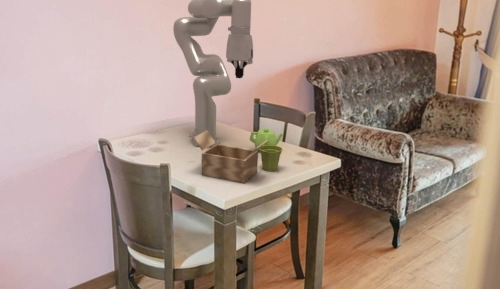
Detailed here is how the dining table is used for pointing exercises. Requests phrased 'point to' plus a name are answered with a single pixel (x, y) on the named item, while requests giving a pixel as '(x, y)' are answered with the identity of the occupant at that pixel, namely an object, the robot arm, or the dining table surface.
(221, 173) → the carton
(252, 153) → the flap
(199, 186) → the dining table surface
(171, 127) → the dining table surface
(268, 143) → the teapot
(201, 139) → the flap
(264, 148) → the plant pot
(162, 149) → the dining table surface
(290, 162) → the dining table surface
